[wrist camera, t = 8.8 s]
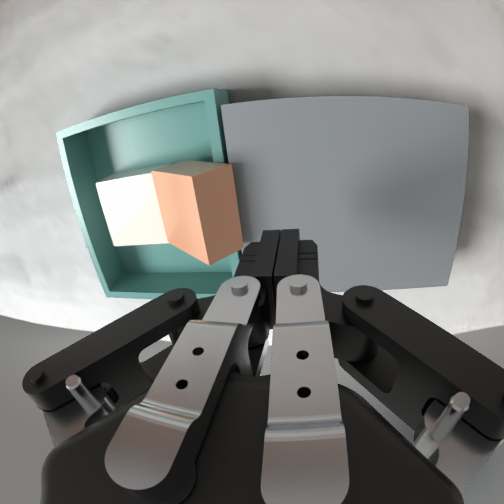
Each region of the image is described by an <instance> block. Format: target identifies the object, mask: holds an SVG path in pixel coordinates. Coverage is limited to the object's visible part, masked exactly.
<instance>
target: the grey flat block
mask: <svg viewBox="0 0 504 504" xmlns="http://www.w3.org/2000/svg"><path fill="white" fill-rule="evenodd" d="M221 112H222V119H223V126H224V134H225V141H226V148H227V155H228V162H229V164H232V170H233V177H234V184H235V190H236V197H237V204H238V211H239V218H240V225H241V232H242V238H243V245H244V248H245V247H246V246H247V245H249V244H250V243H251V242H260V239H261V236H262V233H263V230H279V229H281V231H282V229H299V232H300V240H313V241H314V242H315V243H316V244H317V247H318V266H319V283H320V285H321V286H322V287H323V288H324V289H325V290H326V291H328V292H346V291H347V290H348V289H349V288H352V287H354V286H359V285H367V286H373V287H376V288H378V289H380V290H390V289H407V288H423V287H437V286H447V285H448V281H449V277H450V273H451V269H452V265H453V260H454V255H455V251H456V246H457V241H458V235H459V229H460V224H461V217H462V210H463V203H464V195H465V186H466V176H467V163H468V144H469V106H466V105H460V104H453V103H446V102H438V101H430V100H420V99H409V98H395V97H376V96H314V97H293V98H279V99H267V100H257V101H248V102H240V103H232V104H224V105H221ZM244 248H243V249H241V251H242V253H243V250H244Z"/></svg>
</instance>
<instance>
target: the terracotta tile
mask: <svg viewBox="0 0 504 504" xmlns="http://www.w3.org/2000/svg"><path fill="white" fill-rule="evenodd" d="M151 172H152V177H153V182H154V186H155V191H156V195H157V199H158V204H159V208H160V212H161V216H162V221H163V225H164V229H165V233H166V236H167V240H168V243H170V244H172V245H174V246H175V247H177V248H179V249H181V250H183V251H184V252H186V253H188V254H190V255H191V256H193V257H195V258H197V259H199V260H200V261H202V262H204V263H206V264H207V265H209V266H210V265H212V264H214V263H216V262H217V261H219V260H221V259H223V258H225V257H227V256H229V255H231V254H233V253H235V252H237V251H239V250H241V249H243V248H244V245H243V238H242V232H241V225H240V218H239V211H238V204H237V197H236V190H235V184H234V177H233V170H232V164H225V163H214V162H202V161H189V160H184V161H180V162H177V163H174V164H171V165H167V166H164V167H161V168H158V169H155V170H152V171H151Z"/></svg>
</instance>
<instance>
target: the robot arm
mask: <svg viewBox="0 0 504 504" xmlns="http://www.w3.org/2000/svg"><path fill="white" fill-rule="evenodd" d="M270 329H273V339H272V359H271V360H272V361H271V375H265V376H260V373H261V369H262V366H263V363H264V359H265V356H266V352H267V348H268V335H269V330H270ZM168 334H169V336H170V339H171V341H172V345H171V346H169V347H167V348H166V349H164V350H163V351H161V352H159V353H158V354H156V355H155V356H153V357H151V358H149V359H148V360H146V361H144V362H142V363H139V360H138V356H139V354H140V352H141V351H142V350H143V349H145V348H146V347H148V346H150V345H151V344H153V343H154V342H156V341H158V340H160V339H161V338H163V337H165V336H166V335H168ZM334 358H337V359H338V362H339V364H340V366H341V367H342V368H343V369H344V370H345V371H346V372H347V373H349V374H350V375H351V376H352V377H353V378H354V379H355V380H356V381H358V382H359V383H360V384H361V385H362V386H363V387H364V388H366V389H367V390H368V391H369V392H370V393H371V394H373V395H374V396H375V397H376V398H377V399H378V400H379V401H380V402H382V403H383V404H384V405H385V406H386V407H387V408H389V409H390V410H391V411H392V412H393V413H394V414H395V415H397V416H398V417H399V418H400V419H401V420H402V421H404V422H405V423H406V424H407V425H408V426H410V427H411V428H412V429H413V430H414V435H413V442H414V446H415V447H414V446H413V445H412V444H411V443H410V442H409V441H408V440H407V439H406V438H405V437H404V436H403V435H402V434H400V433H399V432H398V431H397V430H396V429H395V428H394V427H393V426H392V425H391V424H390V423H389V422H388V421H387V420H386V419H385V418H384V417H383V416H382V415H381V414H380V413H378V412H377V411H376V410H375V409H374V408H373V407H372V406H371V405H370V404H369V403H368V402H367V401H366V400H365V399H364V398H363V397H361V396H360V395H359V394H357V393H356V392H355V391H353V390H351V389H349V388H347V387H345V386H343V385H340V384H337V376H336V369H335V361H334ZM22 384H23V385H22V386H23V389H24V391H25V392H26V393H27V394H28V395H29V397H30V398H31V399H32V400H33V401H34V402H35V403H36V404H37V406H38V408H39V409H40V410H41V411H42V412H43V414H44V417H45V420H46V424H47V427H48V430H49V433H50V436H51V439H52V442H53V444H54V447H55V448H54V449H53V450H52V451H51V452H50V453H49V454H48V456H47V457H46V459H45V462H44V464H43V467H42V472H41V501H40V504H464V501H463V498H462V495H461V494H462V493H463V491H464V490H465V489H466V488H467V487H468V486H469V484H470V483H471V482H472V481H473V479H474V478H475V477H476V475H477V474H478V473H479V472H480V470H481V469H482V468H483V466H484V465H485V463H486V462H487V461H488V459H489V458H490V456H491V455H492V453H493V452H494V451H495V449H496V448H497V447H498V446H499V445H500V444H501V443H502V442H503V441H504V369H503V368H501V367H500V366H498V365H497V364H496V363H494V362H492V361H491V360H490V359H488V358H487V357H485V356H483V355H482V354H481V353H479V352H478V351H476V350H474V349H473V348H471V347H470V346H468V345H467V344H465V343H464V342H462V341H460V340H459V339H458V338H456V337H455V336H453V335H452V334H450V333H448V332H447V331H445V330H444V329H442V328H441V327H439V326H437V325H436V324H434V323H433V322H431V321H430V320H428V319H426V318H425V317H423V316H422V315H420V314H418V313H417V312H415V311H414V310H412V309H410V308H409V307H407V306H406V305H404V304H402V303H401V302H399V301H398V300H396V299H394V298H393V297H391V296H389V295H388V294H386V293H385V292H383V291H381V290H380V289H378V288H376V287H373V286H367V285H359V286H354V287H352V288H349V289H348V290H347V291H346V292H345V293H344V294H343V295H338V294H333V293H331V292H328V291H326V290H325V289H324V288H323V287H322V286H321V285H320V283H319V266H318V247H317V244H316V243H315V242H314V241H313V240H300V232H299V229H282V231H281V229H279V230H263V233H262V236H261V239H260V242H251V243H250V244H249V245H247V246H246V247H245V248H244V250H243V253H242V256H241V258H240V262H239V264H238V266H237V269H236V272H235V274H234V277H233V278H230V279H228V280H226V281H225V282H224V283H223V284H222V285H221V286H220V288H219V290H218V291H217V293H216V295H213V296H209V297H204V298H199V299H197V296H196V293H195V292H194V291H193V290H191V289H189V288H177V289H173V290H170V291H168V292H166V293H164V294H162V295H161V296H159V297H157V298H155V299H153V300H151V301H150V302H148V303H146V304H144V305H142V306H141V307H139V308H137V309H135V310H133V311H132V312H130V313H128V314H126V315H124V316H123V317H121V318H119V319H117V320H115V321H113V322H112V323H110V324H108V325H106V326H104V327H103V328H101V329H99V330H97V331H95V332H94V333H92V334H90V335H88V336H86V337H85V338H83V339H81V340H79V341H78V342H76V343H74V344H72V345H70V346H69V347H67V348H65V349H63V350H61V351H60V352H58V353H56V354H54V355H52V356H51V357H49V358H47V359H45V360H43V361H42V362H40V363H38V364H36V365H35V366H33V367H32V368H31V369H30V370H29V371H28V372H27V373H26V375H25V377H24V379H23V383H22Z"/></svg>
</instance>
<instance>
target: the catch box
mask: <svg viewBox="0 0 504 504" xmlns="http://www.w3.org/2000/svg"><path fill="white" fill-rule="evenodd" d="M224 104H229V96H228V90H226V89H209V90H203V91H198V92H192V93H187V94H182V95H178V96H173V97H169V98H164V99H160V100H156V101H152V102H148V103H144V104H140V105H136V106H133V107H129V108H126V109H122V110H119V111H116V112H112V113H109V114H106V115H103V116H100V117H97V118H94V119H91V120H88V121H85V122H82V123H79V124H77V125H74V126H71V127H69V128H66V129H63V130H61V131H58V132H56V137H57V142H58V146H59V151H60V156H61V160H62V164H63V168H64V172H65V176H66V180H67V184H68V188H69V191H70V195H71V198H72V202H73V205H74V209H75V212H76V215H77V218H78V221H79V225H80V228H81V231H82V234H83V237H84V240H85V242H86V245H87V248H88V251H89V254H90V256H91V259H92V262H93V264H94V267H95V270H96V272H97V275H98V277H99V280H100V282H101V285H102V287H103V290H104V292H105V294H106V297H115V298H136V299H155V298H157V297H159V296H161V295H162V294H164V293H166V292H168V291H170V290H173V289H177V288H189V289H191V290H193V291H194V292H195V293H196V296H197V299H199V298H204V297H209V296H213V295H216V293H217V291H218V290H219V288H220V286H221V285H222V284H223V283H224V282H225V281H226V280H228V279H230V278H233V277H234V274H235V272H236V269H237V266H238V264H239V262H240V258H241V256H242V251H241V250H239V251H237V252H235V253H233V254H231V255H229V256H227V257H225V258H223V259H221V260H219V261H217V262H216V263H214V264H212V265H210V266H209V265H207V264H206V263H204V262H202V261H200V260H199V259H197V258H195V257H193V256H191V255H190V254H188V253H186V252H184V251H183V250H181V249H179V248H177V247H175V246H174V245H172V244H170V243H166V244H147V245H129V246H114V244H113V241H112V238H111V235H110V232H109V229H108V225H107V222H106V219H105V215H104V212H103V208H102V205H101V201H100V198H99V194H98V190H97V187H96V183H97V182H99V181H101V180H102V179H104V178H106V177H108V176H110V175H112V174H114V173H118V172H123V171H128V170H134V169H139V168H145V167H150V166H156V165H162V164H169V163H171V164H174V163H177V162H180V161H184V160H189V161H202V162H214V163H225V164H229V162H228V155H227V148H226V141H225V134H224V126H223V119H222V112H221V105H224Z"/></svg>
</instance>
